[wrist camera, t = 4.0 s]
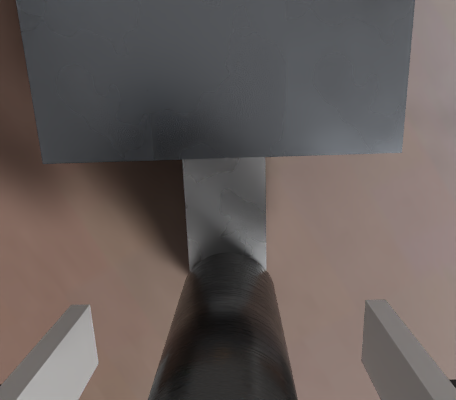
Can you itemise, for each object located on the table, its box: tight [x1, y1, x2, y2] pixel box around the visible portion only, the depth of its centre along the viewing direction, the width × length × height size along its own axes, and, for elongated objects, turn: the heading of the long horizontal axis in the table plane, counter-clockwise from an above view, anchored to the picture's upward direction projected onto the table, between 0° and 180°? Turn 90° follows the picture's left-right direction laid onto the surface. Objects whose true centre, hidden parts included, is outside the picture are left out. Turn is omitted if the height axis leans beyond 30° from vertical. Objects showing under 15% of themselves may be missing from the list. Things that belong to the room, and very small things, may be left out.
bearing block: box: [16, 0, 415, 164], centre depth 14 cm, size 10×12×8 cm
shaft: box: [148, 157, 298, 400], centre depth 11 cm, size 26×4×14 cm, turn 2°
